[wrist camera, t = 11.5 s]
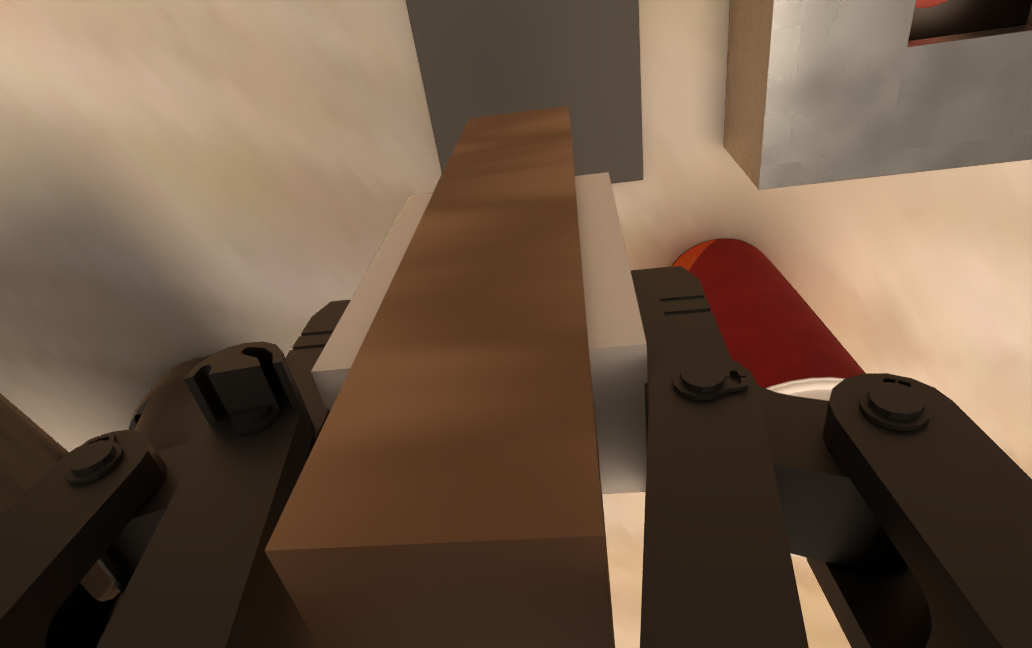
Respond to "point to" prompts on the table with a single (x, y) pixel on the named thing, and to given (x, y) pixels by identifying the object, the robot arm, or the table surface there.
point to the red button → (927, 3)
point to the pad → (536, 71)
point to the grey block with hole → (869, 93)
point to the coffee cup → (768, 321)
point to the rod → (465, 427)
